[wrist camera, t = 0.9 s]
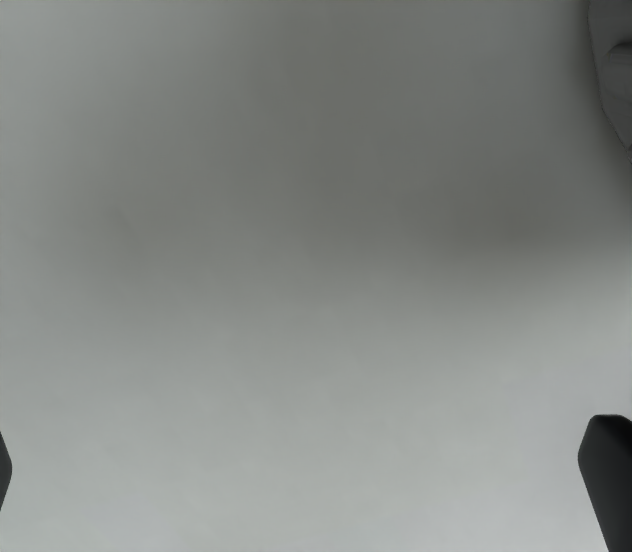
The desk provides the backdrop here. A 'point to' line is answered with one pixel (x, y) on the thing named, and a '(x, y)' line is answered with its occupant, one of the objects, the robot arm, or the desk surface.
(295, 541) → the desk surface
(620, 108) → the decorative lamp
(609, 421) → the robot arm
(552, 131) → the desk surface
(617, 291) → the desk surface
